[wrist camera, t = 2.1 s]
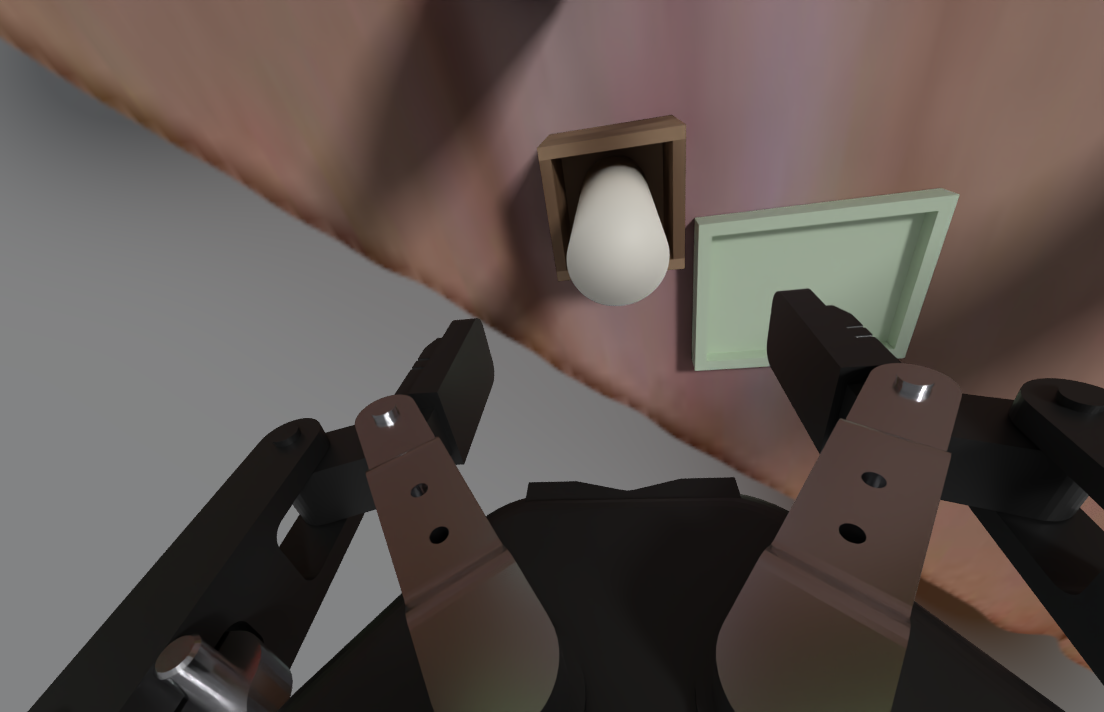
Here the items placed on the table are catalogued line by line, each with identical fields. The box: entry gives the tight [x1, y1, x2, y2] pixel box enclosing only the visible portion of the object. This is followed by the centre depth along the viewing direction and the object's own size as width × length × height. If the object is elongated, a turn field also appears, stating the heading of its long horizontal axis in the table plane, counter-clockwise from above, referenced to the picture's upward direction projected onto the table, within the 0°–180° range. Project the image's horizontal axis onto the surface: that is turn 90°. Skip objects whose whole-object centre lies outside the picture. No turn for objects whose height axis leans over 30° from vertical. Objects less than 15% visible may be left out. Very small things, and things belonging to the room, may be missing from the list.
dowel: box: [567, 156, 670, 306], centre depth 22 cm, size 4×4×12 cm
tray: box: [692, 188, 960, 371], centre depth 29 cm, size 14×11×2 cm
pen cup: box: [537, 115, 686, 281], centre depth 25 cm, size 7×7×6 cm
